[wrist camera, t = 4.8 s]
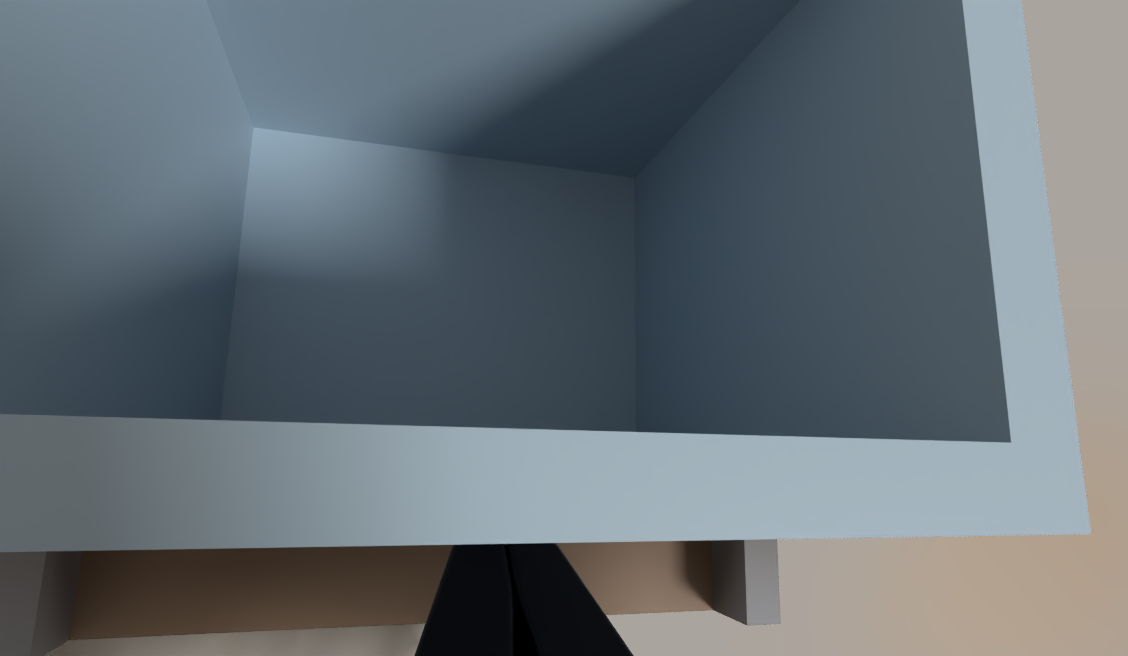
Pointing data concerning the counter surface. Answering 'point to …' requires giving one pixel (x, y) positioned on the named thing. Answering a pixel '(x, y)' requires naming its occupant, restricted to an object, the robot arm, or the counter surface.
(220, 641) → the counter surface
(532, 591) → the robot arm
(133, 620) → the brown wooden tray
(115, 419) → the box
